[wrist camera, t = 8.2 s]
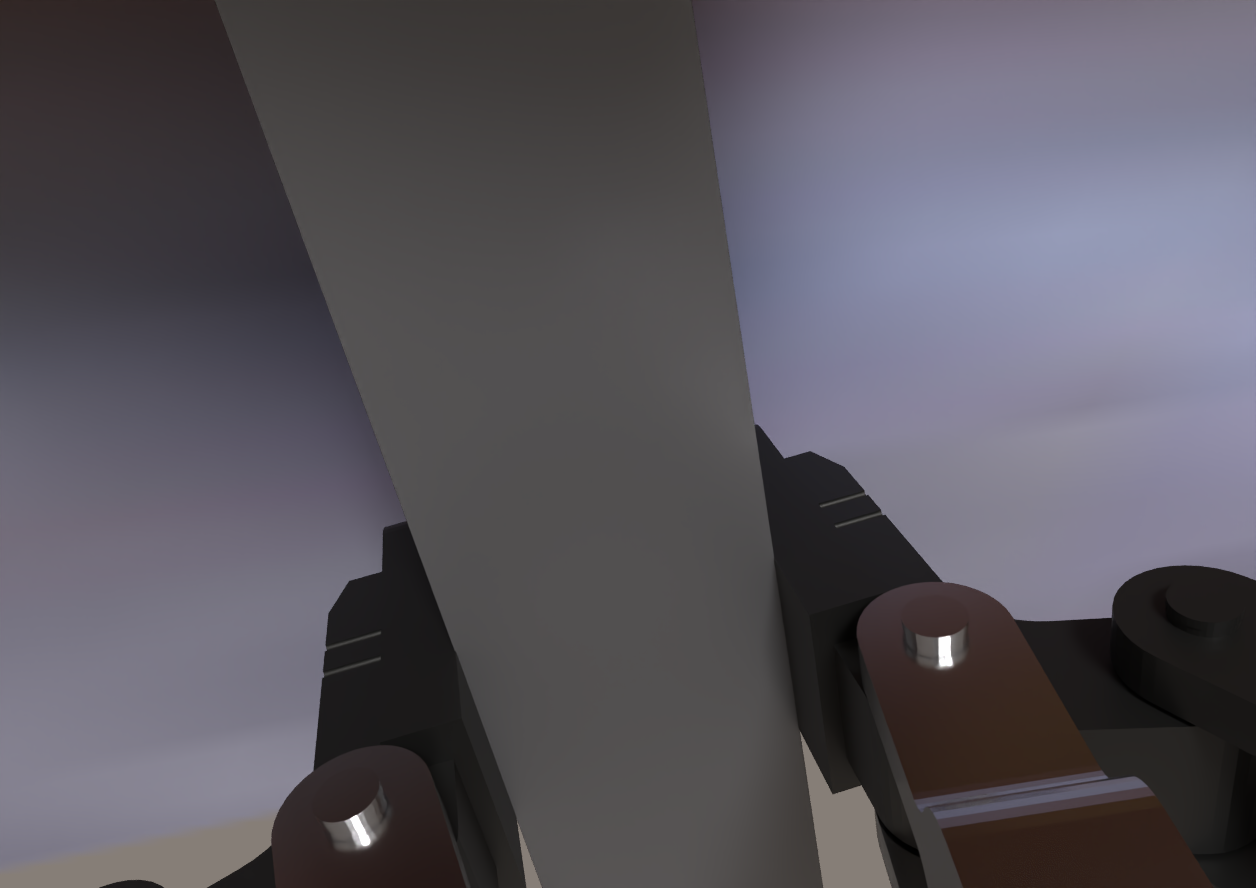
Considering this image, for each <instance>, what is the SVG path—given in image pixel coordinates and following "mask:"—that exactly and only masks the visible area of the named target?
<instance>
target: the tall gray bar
mask: <svg viewBox="0 0 1256 888" xmlns="http://www.w3.org/2000/svg"><path fill="white" fill-rule="evenodd" d="M215 3H216V5H217V8H218V11H219V14H220V16H221V19H222V22H223V24H224V27H225V30H226V32H227V35H228V38H229V41H230V43H231V46H232V49H233V51H234V54H235V57H236V60H237V62H238V65H239V68H240V70H241V73H242V76H243V79H244V81H245V84H246V87H247V89H248V92H249V95H250V98H251V100H252V103H253V106H254V108H255V111H256V114H257V116H258V119H259V122H260V125H261V127H262V130H263V133H264V135H265V138H266V141H267V144H268V146H269V149H270V152H271V154H272V157H273V160H274V163H275V165H276V168H277V171H278V173H279V176H280V179H281V181H282V184H283V187H284V190H285V192H286V195H287V198H288V200H289V203H290V206H291V209H292V211H293V214H294V217H295V219H296V222H297V225H298V228H299V230H300V233H301V236H302V238H303V241H304V244H305V247H306V249H307V252H308V255H309V257H310V260H311V263H312V265H313V268H314V271H315V274H316V276H317V279H318V282H319V284H320V287H321V290H322V293H323V295H324V298H325V301H326V303H327V306H328V309H329V312H330V314H331V317H332V320H333V322H334V325H335V328H336V330H337V333H338V336H339V339H340V341H341V344H342V347H343V349H344V352H345V355H346V358H347V360H348V363H349V366H350V368H351V371H352V374H353V377H354V379H355V382H356V385H357V387H358V390H359V393H360V396H361V398H362V401H363V404H364V406H365V409H366V412H367V414H368V417H369V420H370V423H371V425H372V428H373V431H374V433H375V436H376V439H377V442H378V444H379V447H380V450H381V452H382V455H383V458H384V461H385V463H386V466H387V469H388V471H389V474H390V477H391V479H392V482H393V485H394V488H395V490H396V493H397V496H398V498H399V501H400V504H401V507H402V509H403V512H404V515H405V517H406V520H407V523H408V526H409V528H410V531H411V534H412V536H413V539H414V542H415V545H416V547H417V550H418V553H419V555H420V558H421V561H422V563H423V566H424V569H425V572H426V574H427V577H428V580H429V582H430V585H431V588H432V591H433V593H434V596H435V599H436V601H437V604H438V607H439V610H440V612H441V615H442V618H443V620H444V623H445V626H446V628H447V631H448V634H449V637H450V639H451V642H452V645H453V647H454V650H455V651H456V653H457V656H458V658H459V661H460V664H461V666H462V669H463V672H464V675H465V677H466V680H467V683H468V686H469V688H470V691H471V694H472V697H473V699H474V702H475V705H476V707H477V710H478V713H479V716H480V718H481V721H482V724H483V727H484V729H485V732H486V735H487V738H488V740H489V743H490V746H491V748H492V751H493V754H494V757H495V759H496V762H497V765H498V768H499V770H500V773H501V776H502V779H503V781H504V784H505V787H506V789H507V792H508V795H509V798H510V800H511V803H512V806H513V809H514V811H515V814H516V818H517V821H518V823H519V826H520V829H521V832H522V834H523V837H524V840H525V842H526V845H527V848H528V850H529V853H530V856H531V859H532V861H533V864H534V867H535V870H536V872H537V875H538V878H539V880H540V883H541V885H542V888H823V884H822V877H821V870H820V863H819V857H818V850H817V843H816V837H815V830H814V823H813V816H812V809H811V803H810V796H809V789H808V782H807V776H806V769H805V762H804V755H803V750H802V742H801V736H800V730H799V726H798V719H797V712H796V706H795V699H794V692H793V685H792V678H791V671H790V665H789V658H788V651H787V644H786V637H785V630H784V624H783V617H782V610H781V603H780V596H779V589H778V583H777V576H776V569H775V562H774V553H773V547H772V540H771V533H770V526H769V520H768V513H767V506H766V499H765V493H764V486H763V479H762V472H761V466H760V459H759V452H758V445H757V439H756V432H755V425H754V418H753V412H752V405H751V398H750V392H749V385H748V378H747V371H746V365H745V358H744V351H743V344H742V338H741V331H740V324H739V317H738V311H737V304H736V297H735V290H734V284H733V277H732V270H731V263H730V257H729V250H728V243H727V236H726V230H725V223H724V216H723V210H722V203H721V196H720V189H719V183H718V176H717V169H716V162H715V156H714V149H713V142H712V135H711V129H710V122H709V115H708V108H707V102H706V95H705V88H704V81H703V75H702V68H701V61H700V55H699V48H698V41H697V34H696V28H695V21H694V14H693V7H692V1H691V0H215Z"/></svg>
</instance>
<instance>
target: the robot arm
mask: <svg viewBox="0 0 1256 888" xmlns="http://www.w3.org/2000/svg"><path fill="white" fill-rule="evenodd" d="M755 432H756V439H757V445H758V452H759V459H760V466H761V472H762V479H763V486H764V493H765V499H766V506H767V513H768V520H769V526H770V533H771V540H772V547H773V553H774V562H775V569H776V576H777V583H778V589H779V596H780V603H781V610H782V617H783V624H784V630H785V637H786V644H787V651H788V658H789V665H790V671H791V678H792V685H793V692H794V699H795V706H796V712H797V719H798V726H799V730H800V732H801V733H802V735H803V737H804V739H805V741H806V743H807V745H808V747H809V749H810V751H811V753H812V755H813V757H814V759H815V761H816V763H817V764H818V766H819V769H820V770H821V772H822V774H823V776H824V778H825V780H826V782H827V784H828V786H829V788H830V790H831V792H832V794H835V793H838V792H841V791H845V790H848V789H851V788H854V787H857V786H860V785H862V787H863V788H864V790H865V792H866V794H867V796H868V798H869V799H870V801H871V803H872V805H873V807H874V809H875V819H876V828H877V837H878V842H879V847H880V850H881V853H882V856H883V860H884V863H885V866H886V870H887V873H888V876H889V880H890V883H891V886H892V888H1256V581H1255V580H1253V579H1250V578H1248V577H1245V576H1242V575H1239V574H1236V573H1233V572H1229V571H1225V570H1221V569H1217V568H1210V567H1203V566H1186V565H1184V566H1168V567H1162V568H1156V569H1153V570H1149V571H1146V572H1143V573H1141V574H1138V575H1136V576H1134V577H1132V578H1131V579H1129V580H1128V581H1126V582H1125V583H1124V584H1123V585H1122V586H1121V587H1120V588H1119V589H1118V591H1117V593H1116V595H1115V597H1114V601H1113V606H1112V618H1101V619H1083V620H1065V621H1023V620H1015V619H1013V617H1012V616H1011V614H1010V613H1009V612H1008V610H1007V609H1006V608H1005V607H1004V606H1003V605H1002V604H1001V603H999V602H998V601H997V600H995V599H994V598H992V597H991V596H989V595H987V594H985V593H983V592H981V591H979V590H976V589H973V588H970V587H967V586H963V585H959V584H954V583H945V582H942V581H941V579H940V578H939V577H938V576H937V575H936V574H935V572H934V571H933V570H932V569H931V568H930V567H929V565H928V564H927V563H926V562H925V561H924V560H923V558H922V557H921V556H920V555H919V554H918V553H917V551H916V550H915V549H914V548H913V547H912V546H911V544H910V543H909V542H908V541H907V540H906V539H905V537H904V536H903V535H902V534H901V533H900V532H899V530H898V529H897V528H896V527H895V526H894V525H893V523H892V522H891V521H890V520H889V519H888V518H887V516H886V515H882V513H881V509H880V508H879V507H878V506H877V505H876V504H875V502H874V501H873V500H872V499H871V498H870V496H869V495H867V496H866V495H865V492H864V489H863V488H862V487H861V486H860V485H859V484H858V482H857V481H856V480H855V479H854V478H853V477H852V475H851V474H850V473H849V472H848V471H847V470H846V468H845V467H843V466H841V465H839V464H837V463H835V462H832V461H830V460H828V459H826V458H824V457H822V456H819V455H817V454H815V453H813V452H811V451H809V452H806V453H802V454H799V455H795V456H792V457H788V458H785V459H784V458H783V456H782V455H781V454H780V452H779V451H778V450H777V448H776V447H775V446H774V445H773V443H772V442H771V441H770V439H769V438H768V437H767V435H766V434H765V433H764V431H763V430H762V429H761V427H760V426H758V425H755ZM326 648H327V651H325V656H324V667H323V672H324V678H322V687H321V698H320V708H319V719H318V729H317V740H316V750H315V760H314V771H313V772H312V773H310V774H309V775H308V776H307V777H305V778H304V779H303V780H302V781H301V782H300V783H299V784H298V785H297V786H296V787H295V788H294V789H293V791H292V792H291V793H290V794H289V796H288V797H287V798H286V800H285V801H284V803H283V805H282V806H281V808H280V809H279V812H278V814H277V816H276V819H275V821H274V825H273V829H272V839H271V843H272V845H271V846H270V847H269V848H268V849H267V850H266V851H264V852H263V853H262V854H261V855H259V856H258V857H257V858H255V859H254V860H253V861H251V862H250V863H248V864H246V865H245V866H243V867H242V868H240V869H239V870H237V871H235V872H233V873H232V874H230V875H228V876H226V877H225V878H223V879H221V880H220V881H218V882H216V883H215V884H213V885H211V886H209V887H208V888H526V882H525V875H524V868H523V861H522V854H521V847H520V840H519V833H518V825H517V818H516V814H515V811H514V809H513V806H512V803H511V800H510V798H509V795H508V792H507V789H506V787H505V784H504V781H503V779H502V776H501V773H500V770H499V768H498V765H497V762H496V759H495V757H494V754H493V751H492V748H491V746H490V743H489V740H488V738H487V735H486V732H485V729H484V727H483V724H482V721H481V718H480V716H479V713H478V710H477V707H476V705H475V702H474V699H473V697H472V694H471V691H470V688H469V686H468V683H467V680H466V677H465V675H464V672H463V669H462V666H461V664H460V661H459V658H458V656H457V653H456V651H455V650H454V647H453V645H452V642H451V639H450V637H449V634H448V631H447V628H446V626H445V623H444V620H443V618H442V615H441V612H440V610H439V607H438V604H437V601H436V599H435V596H434V593H433V591H432V588H431V585H430V582H429V580H428V577H427V574H426V572H425V569H424V566H423V563H422V561H421V558H420V555H419V553H418V550H417V547H416V545H415V542H414V539H413V536H412V534H411V531H410V528H409V526H408V523H407V521H405V522H402V523H398V524H395V525H391V526H388V527H385V528H384V530H383V558H382V572H380V573H376V574H373V575H369V576H366V577H362V578H358V579H355V580H351V581H349V582H348V584H347V585H346V587H345V589H344V590H343V592H342V593H341V595H340V596H339V598H338V600H337V601H336V603H335V604H334V606H333V607H332V609H331V610H330V612H329V614H328V625H327V635H326ZM100 888H164V887H162V886H161V885H158V884H156V883H154V882H149V881H144V880H127V881H121V882H116V883H112V884H109V885H106V886H103V887H100Z"/></svg>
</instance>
